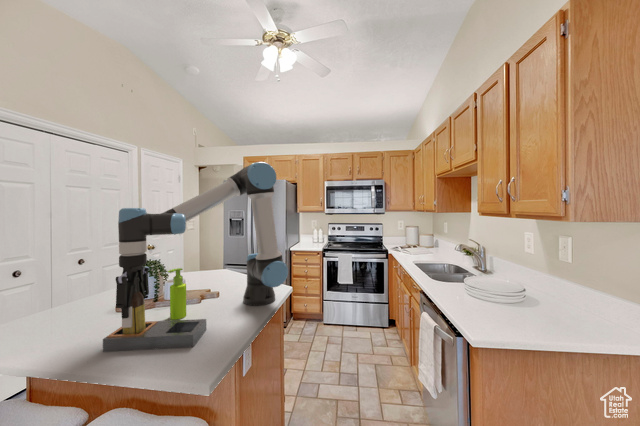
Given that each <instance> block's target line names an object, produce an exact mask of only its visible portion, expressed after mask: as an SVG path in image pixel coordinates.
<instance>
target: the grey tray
mask: <svg viewBox="0 0 640 426" xmlns="http://www.w3.org/2000/svg"><path fill="white" fill-rule="evenodd" d="M145 327H146V328H145V329H144V330H143V331H142V332H141V333H139V334H123V328H122V326H120V327H119V328H117V329H116V330H114V331H112V332H111V333H110V334H108V335H106V337H104V338H103V339H102V352H103V353H105V352H106V353H108V352H126V351H145V350H146V351H147V350H148V351H149V350H163V349H164V350H165V349H166V350H167V349H168V350H169V349H182V348H183V349H184V348H185V349H186V348H194V347H195V346H196V345H197V343H198V341H200V340H201V338H202V336H203V335H204V334H205V333H206V331H207V319H206V318H198V319H177V320H172V319H171V320H154V321H145Z"/></svg>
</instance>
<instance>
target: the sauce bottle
mask: <svg viewBox="0 0 640 426" xmlns="http://www.w3.org/2000/svg"><path fill="white" fill-rule="evenodd" d="M127 283H132V282H127ZM130 306H132V327H129V328H123V334H139V333H141V332H142V331H143V330H144V329H145V328H146V327H145V322H146V308H145V307H146V306H144V296H143V294H142V293H141V292H140V290H139V277H138V278H137V279H136V285H135V286H134V287H133V293H132V299H131V304H130Z"/></svg>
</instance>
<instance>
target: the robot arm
mask: <svg viewBox="0 0 640 426" xmlns="http://www.w3.org/2000/svg"><path fill="white" fill-rule="evenodd" d="M276 182H277V172H276V170H275V169H274V167H273V166H272V165H271V164H269V163H267V162H264V161H256V162H253V163H251V164H250V165H246V166H245V167H243V168H241V169H240V170H238V171H237V172H236V173H235V174H233V175H231V176H229V177H228V178H227V179H226V181H225V182H222V183H220V184H217V186H214V187H212V188H210V189H208V190H205V191H204V192H202V193H200V194H198V195H196V196H193V197H192V198H190V199H188V200H186V201H184V202H182V203H180V204H177V205H176V206H174V207H172V208H171V209H170V208H169V209H168V210H166V211H164V212H161V213H147V210H146V208H144V207H139V208H138V207H123V208H121V209H119V211H118V221H117V222H118V223H117V224H118V227H117V228H118V254H119V257H118V266H119V267H120V268H122V274H121V275H120V276H116V277H115V284H116V288H115V291H116V293H115V308H116V309H121V327H122V328H129V327H132V306H130V304H131V299H132V293H133V287H134V286H135V285H136V279H137V278H138V277H139V290H140V292H141V293H142V294H143V296H144V306H145V305H146V304H145V303H146V299H148V298H149V294H150V287H149V267H144V266H145V265H147V263H148V262H147V261H148V257H147V254H146V253H147V252H148V251H147V249H148V248H147V247H148V246H147V237H148V236H163V235H164V236H166V235H168V236H169V235H180V234H181V235H183V234H184V233H185V232H186V228H187V227H186V225H187V222H189V221H191V220H193V219H194V218H196V217H198V216H200V215H202V214H204V213H206V212H208V211H210V210H212V209H214V208H215V207H217V206H220V205H221V204H223V203H225V202H226V201H228V200H230V199H232V198H234V197H241V196H242V195H245V194H246V196H247V197H248V198H249V199H250V200H251V208H252V214H253V215H252V216H253V222H254V229H255V230H254V231H255V237H256V244H257V246H256V247H257V252H258V253H257V252H256V253H250V254H249V253H248V255H247V257H246V287H245V291H244V294H243V296H242V298H243V299H242V300H243V304H246V305H249V306H264V305H268V304H271V303H273V302H274V301H276V293H275V290H274V288H277V287H280V286H282V285H283V284H284V283H285V281H286V280H287V278H288V275H289V268H288V266H287V265H286V263H285V262H284V261H283V260H284V259H283V254H282V252H281V251H280V250H279V249H278V240H277V235H276V234H277V233H276V226H275V225H276V224H275V216H274V210H273V208H274V207H273V200H272V196H273V195H274V194H275V184H276ZM127 282H132V283H127ZM145 307H146V306H145Z"/></svg>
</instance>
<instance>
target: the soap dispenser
mask: <svg viewBox="0 0 640 426" xmlns="http://www.w3.org/2000/svg"><path fill="white" fill-rule="evenodd" d="M181 271H183V268H182V267H178V268H172V269H169V270H168V271H167V273H170V274H172V273H174V272H175V275H174V276H173V278H172V280H173V281H172V282H173V284H171V285H170V286H169V313H170V314H169V316H170V317H169V318H170V320H171V321H172V320H183V319H184V318H185V317H187V284H186V283H183V279H184V278H183V275H181Z"/></svg>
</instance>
